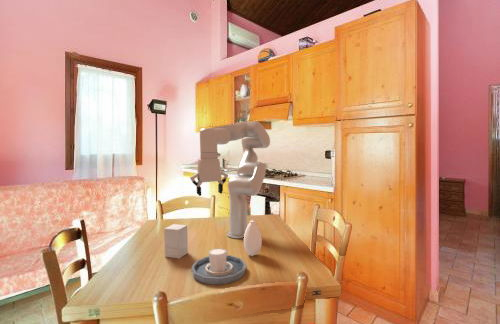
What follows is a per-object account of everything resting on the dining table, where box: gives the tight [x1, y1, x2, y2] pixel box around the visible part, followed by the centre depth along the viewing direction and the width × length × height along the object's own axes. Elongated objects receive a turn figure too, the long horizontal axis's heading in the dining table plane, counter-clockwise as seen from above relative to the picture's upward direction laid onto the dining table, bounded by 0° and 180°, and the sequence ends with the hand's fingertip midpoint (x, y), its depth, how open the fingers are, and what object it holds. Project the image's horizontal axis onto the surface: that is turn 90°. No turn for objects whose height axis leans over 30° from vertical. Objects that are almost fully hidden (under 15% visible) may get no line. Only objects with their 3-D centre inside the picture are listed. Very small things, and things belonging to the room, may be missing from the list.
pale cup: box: [208, 247, 228, 272], centre depth 103 cm, size 7×7×7 cm
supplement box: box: [163, 223, 189, 259], centre depth 118 cm, size 7×7×13 cm
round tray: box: [191, 254, 247, 286], centre depth 103 cm, size 20×20×2 cm
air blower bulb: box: [243, 215, 263, 257], centre depth 118 cm, size 8×8×18 cm
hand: (210, 194), depth 121 cm, fingers open, 9 cm apart
